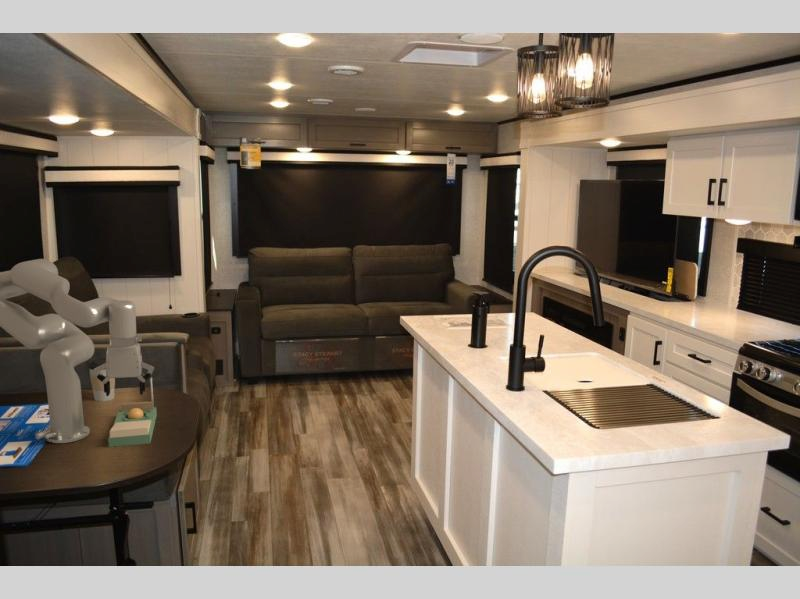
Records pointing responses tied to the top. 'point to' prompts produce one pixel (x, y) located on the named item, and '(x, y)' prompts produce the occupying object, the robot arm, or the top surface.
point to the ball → (135, 413)
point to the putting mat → (133, 424)
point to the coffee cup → (97, 384)
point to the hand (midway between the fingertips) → (125, 393)
